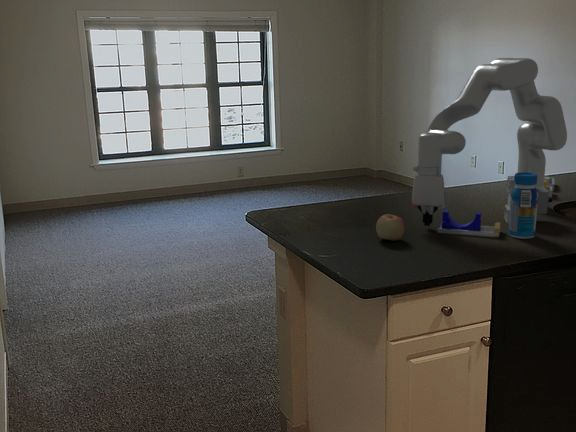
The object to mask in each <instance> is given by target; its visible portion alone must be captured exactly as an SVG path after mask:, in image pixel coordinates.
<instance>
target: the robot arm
mask: <svg viewBox="0 0 576 432" xmlns="http://www.w3.org/2000/svg"><path fill="white" fill-rule="evenodd" d="M538 74H539V65H538V64H537V62H536V61H535V60H534V59H532V58H529V57H528V58H527V57H526V58H525V57H499V58H494V59H492V61H491V62H490V63H483V64H479V65H477V66H476V67H475V68H474V69H473V71H472V72H471V74H470V76H469V78H468V79H467V81H466V83H465V84H464V86H463V88H462V90H461V91H460V93H459V95H458V97H457V98H456V100H454V101H453V102H451V103H450V104H449V105H447V106H445V108H443V109H442V110H441V111H440V112H438V114H436V115H435V117H433V119H432V121H431V122H430V124H429V125H428V128H427V129H426V132H422V133H421V134H420V135H419V136H418V151H417V152H418V153H417V166H413V168H412V170H413V171H414V172H417V173H416V174H415V175H414V178H413V183H412V185H413V186H412V192H411V193H412V195H411V207H412V208H415V209H418V210H419V212H421V214H422V224H424V227H426V226H427V227H431V224H433V222H434V221H433V219H434V213H436V212H437V211H439V210H445V207H446V205H445V196H446V195H445V194H446V193H445V190H446V189H445V180H444V175H443V174H442V165H443V164H442V161H443V160H442V158H443V155H457V154H460V153H461V152H463V150H464V149H465V146H466V144H467V141H466V137H465V136H464V135H463V134H462V133H461V132H458V131H456V130H455V131H454V130H449V128H451V126H453V125H454V124H456V123H457V122H460V121H462V120H465V119H468V118H471V117H473V116H475V115H478V114H479V112H481V110H482V108H483V106H484V105H485V103H486V101H487V100H488V98H489V96H490V94H491V93H492V92H493V91H498V92H499V91H502V92H503V91H504V92H506V91H509V93H510V96H511V99H512V103H513V107H514V111H515V115H516V117H517V119H518V120H520V121H521V122H523V123H522V124H521V125H519V127H518V129H517V133H516V139H517V146H518V147H517V148H518V163H517V172H516V173H520V172H528V173H535V174H537V184H536V186H535V187H544V177H546V165H547V162H546V161H547V159H546V155H545V152H544V150H547V151H559V150H562V149H563V148H564V147H565V146H566V143H567V141H568V131H567V126H566V125H567V124H566V121H565V116H564V111H563V107H562V104H561V102H560V101H559V99H557V98H556V97H554V96H549V95H540V94H539V93H538V90H537V86H536V82H535V80H536V79H537V76H538ZM427 207H429V211H428V208H427Z"/></svg>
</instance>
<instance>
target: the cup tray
mask: <svg viewBox="0 0 576 432" xmlns="http://www.w3.org/2000/svg"><path fill="white" fill-rule="evenodd" d="M548 177H549V178H550V179H549V183H548V184H546V186H552V192H554V191H555V177H550V176H548Z"/></svg>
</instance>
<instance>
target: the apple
mask: <svg viewBox="0 0 576 432" xmlns="http://www.w3.org/2000/svg"><path fill="white" fill-rule="evenodd" d="M405 227H406V225H405V222H404V220H403V219H402V218H401V217H400V216H398V215H396V214H395V215H394V214H390V213H387V214H386V213H385V214H383V215H381V216H379V218H378V219H377V222H376V224H375V230H376V234H377V236H378V237H379V238H380V239H383V240H387V241H394V242H395V241H397V242H398V241H399V240H400V239H402V238H403V236H404V234H405V230H406V228H405Z"/></svg>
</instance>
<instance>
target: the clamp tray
mask: <svg viewBox="0 0 576 432" xmlns="http://www.w3.org/2000/svg"><path fill="white" fill-rule="evenodd" d="M546 190H547V191H548V192H549V194H548V197H551V199H553V191H552V186H546ZM506 195H507V197H508V195H509V193H508V192H507V194H506Z"/></svg>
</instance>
